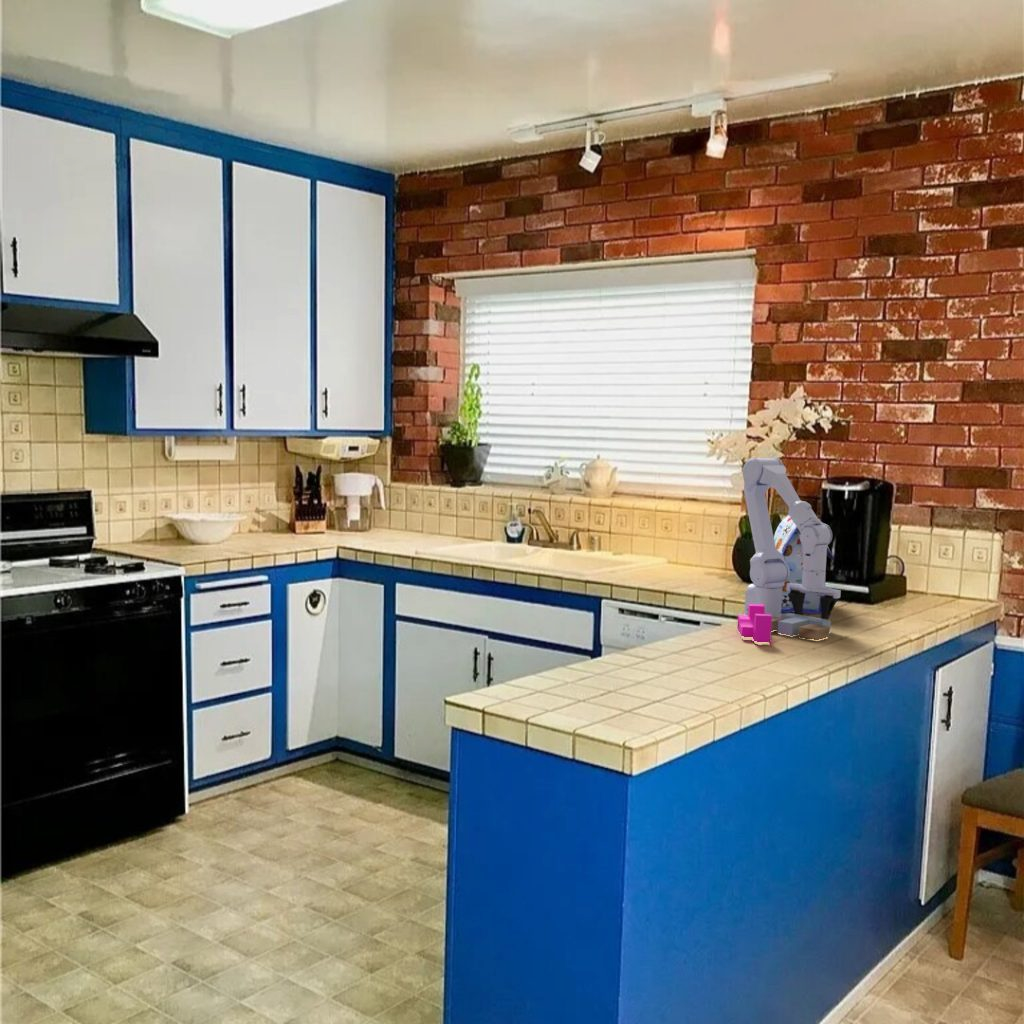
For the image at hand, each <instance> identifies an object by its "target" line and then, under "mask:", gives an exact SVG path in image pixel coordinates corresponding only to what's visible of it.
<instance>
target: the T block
mask: <svg viewBox="0 0 1024 1024" xmlns="http://www.w3.org/2000/svg"><path fill="white" fill-rule="evenodd" d="M781 618H783V620H780V621H778V631H777V634H778V633H781V634H786V635H790V636H793V635H798V634H799V627H800V626H804V625H808V624H816V625H821V626H827V627H829V632H830V633H831V620H830V619H828V620H826V619H821V617H815V616H810V615H799V614H795V613H794V612H785V613H781ZM798 636H799V635H798Z"/></svg>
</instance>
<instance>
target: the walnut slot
mask: <svg viewBox="0 0 1024 1024" xmlns="http://www.w3.org/2000/svg"><path fill="white" fill-rule="evenodd" d="M780 620H783V618H778V617H772V623H771V631H773V630H778V621H780ZM829 636H830V634H829V627H827V626H821V625H816V624H808V625H804V626H800V627H799V635H798V637H800V638H805V639H814V640H819V639H823V638H826V637H829Z"/></svg>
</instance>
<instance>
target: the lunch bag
mask: <svg viewBox="0 0 1024 1024" xmlns="http://www.w3.org/2000/svg"><path fill="white" fill-rule="evenodd" d="M799 535H801V532H800V531H799V529H798V528H797V526H796V525H795V523H794V522H793V520H792V519H791V517H790V516H789V514H788V513H787V515H786V516H785V517H784V518H783V519H782V520H781V521H780V522H779V524H778V525H777V528H776V530H775V532H774V534H773V537H774V542H775V547H776V550H777V551H779V552H780V553H781V554H782V555H783V556H784V560H785V563H786V564H787V566H788V568H789V578H788V580H787V581H786V582H785V583H784V586H782V605H781V613H795V612H794V608H793V605H792V603H791V600H790V598H789V597H788V593H790V592H791V591H786V588H787V583H796V584H802V576H803V558H804V552H803V550H802V548H803V546H802V543H801V541H800V537H799ZM828 545H829V544H828ZM828 545H827V554H826V557H828V558H830V559H832V560H835V557H834V555H833V553H832V552H831V549H830V548H829V546H828ZM826 573H827V572H825V578H826V577H827V576H826V575H827V574H826ZM816 593H818V592H816ZM822 597H824V596H821V595H814V594H808V593H806V594H805V598H804V603H803V614H811V615H812V614H814V615H821V603H820V598H822Z"/></svg>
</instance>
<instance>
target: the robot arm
mask: <svg viewBox="0 0 1024 1024" xmlns="http://www.w3.org/2000/svg"><path fill="white" fill-rule="evenodd" d="M741 473H742V477H743V482H744V483H743V494H744V499H745V504H746V510H747V514H748V519H749V524H750V529H751V534H752V540H753V545H754V549H755V550H754V551H755V554H753V556H752V557H751V558H750V560H749V562H750V563H749V564H750V570H749V577H750V580H751V581H752V583H750V584H749V585H748V586H747V587H746V590H745V593H744V594H745V595H744V611H743V612H744V613H743V614H742V615H748V604H763V605H764V606H765V614H771V616H772V617H778V618H781V615H782V612H781V605H782V586H784V583H785V582H786V581H787V580H788V578H789V568H788V566H787V564H786V563H785V560H784V556H783V555H782V554H781V553H780V552H779V551H777V550H776V547H775V542H774V534H773V527H772V523H771V516H770V512H769V507H768V502H767V498H766V493H767V491H768V490H769V489H770V488H771V487H773V489H775V491H776V492H777V493H778V494H779V496H780V497H781V499H782V500H783V501H784V503H786V505H787V507H789V508H788V511H787V515H788V514H789V516H790V517H791V519H792V520H793V522H794V523H795V525H796V526H797V528H798V529H799V531H800V532H801V535H799V537H800V541H801V543H802V546H803V548H802V550H803V552H804V558H803V576H802V584H796V583H787V588H786V591H791V592H790V593H788V597H789V598H790V600H791V603H792V605H793V608H794V612H793V613H794V614H799V615H803V614H804V613H803V603H804V598H805V594H806V593H808V594H814V595H821V596H824V597H822V598H820V603H821V614H820V618H821V619H826V620H830V619H829V618H830V616H831V613H832V611H833V609H834V608H835V605H836V603H837V602H838V599H840V598H841V593H842V592H841V591H842V590H840V589H834V588H831V587H826V577H825V572H826V568H827V556H826V554H827V545H830V543H831V542H832V540H833V531H832V529H831V527H830V525H828V524H826V523H824V522H822V521H821V520H820V518H818V516H817V515H816V513H815V512H814V510H813V509H812V505H811V504H810V503H808V501H803V500H801V499H800V497H799V495H798V494H797V492H796V490H795V488H794V486H793V484H792V483H791V480H790V479H789V477H788V476H787V467H785V465H784V464H783V462H782V460H781V459H780V458H778V457H766V458H765V457H764V458H763V457H760V458H759V457H757V458H756V457H750V458H748V459H747V460H746V461H745V463H744V465H743V467H742V469H741ZM826 573H827V572H826ZM816 592H818V593H816Z"/></svg>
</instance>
